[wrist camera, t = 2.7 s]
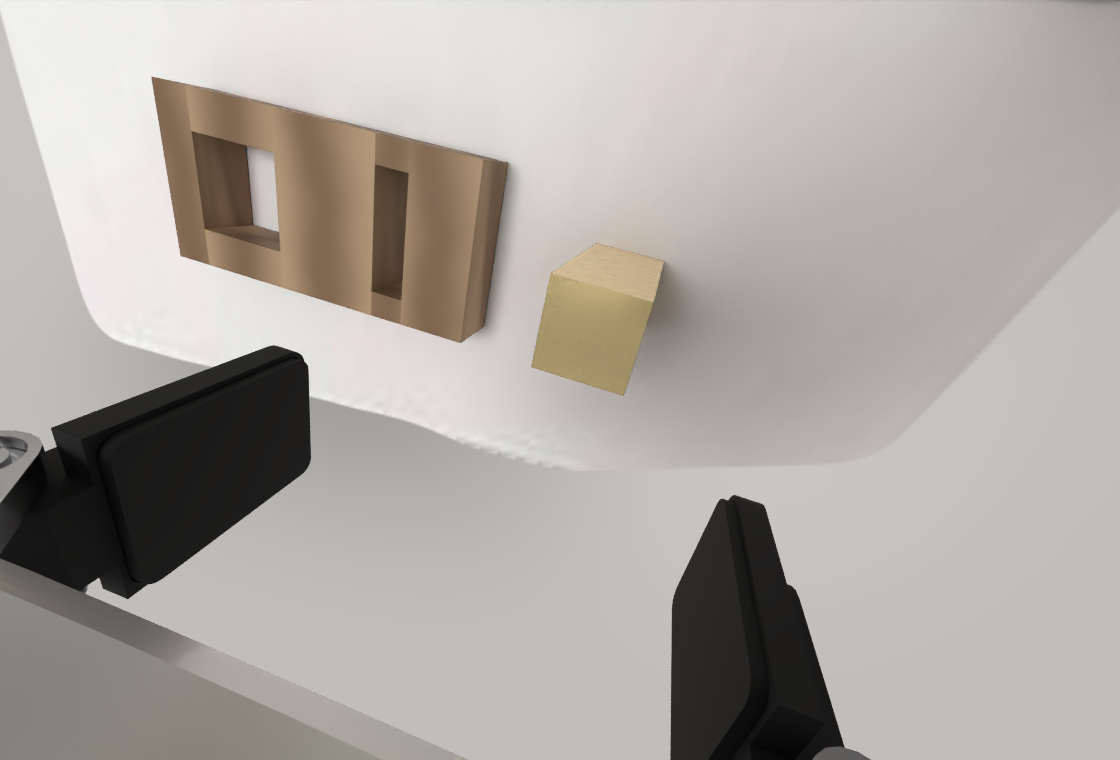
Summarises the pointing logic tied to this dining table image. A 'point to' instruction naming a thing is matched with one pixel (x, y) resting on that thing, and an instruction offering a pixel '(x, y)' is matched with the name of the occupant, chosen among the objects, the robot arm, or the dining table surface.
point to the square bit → (597, 316)
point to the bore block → (335, 209)
